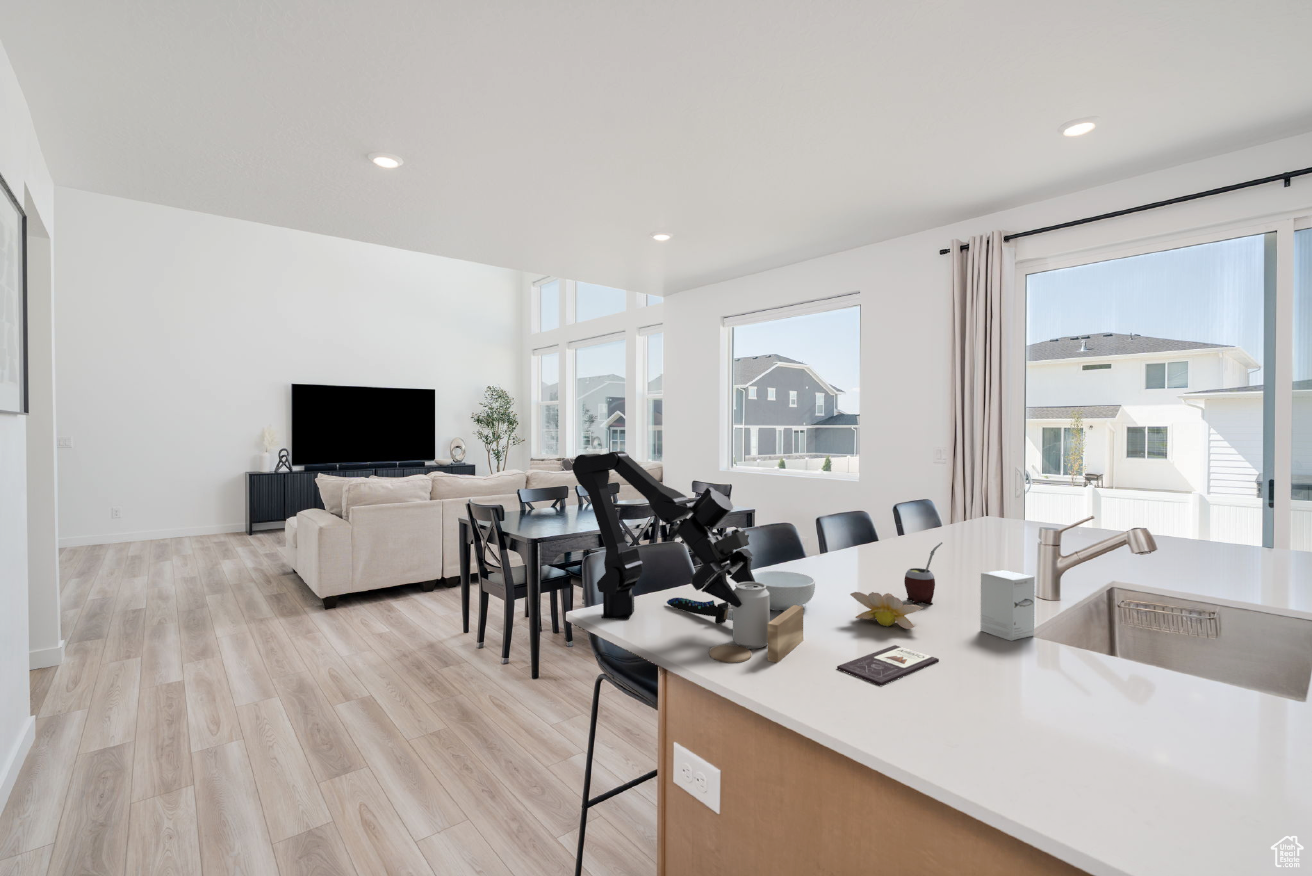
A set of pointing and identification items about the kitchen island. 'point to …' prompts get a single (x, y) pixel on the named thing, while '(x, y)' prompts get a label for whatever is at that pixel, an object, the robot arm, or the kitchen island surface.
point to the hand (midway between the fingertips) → (749, 600)
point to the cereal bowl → (786, 588)
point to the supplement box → (1007, 604)
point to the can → (751, 615)
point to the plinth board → (785, 633)
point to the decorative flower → (885, 609)
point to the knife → (703, 608)
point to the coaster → (730, 653)
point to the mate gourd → (920, 583)
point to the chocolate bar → (887, 664)
